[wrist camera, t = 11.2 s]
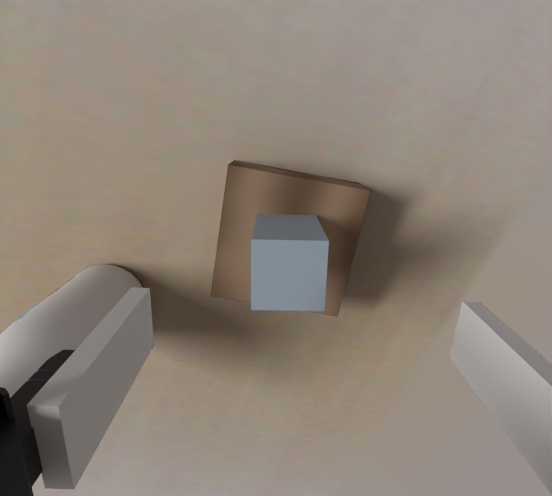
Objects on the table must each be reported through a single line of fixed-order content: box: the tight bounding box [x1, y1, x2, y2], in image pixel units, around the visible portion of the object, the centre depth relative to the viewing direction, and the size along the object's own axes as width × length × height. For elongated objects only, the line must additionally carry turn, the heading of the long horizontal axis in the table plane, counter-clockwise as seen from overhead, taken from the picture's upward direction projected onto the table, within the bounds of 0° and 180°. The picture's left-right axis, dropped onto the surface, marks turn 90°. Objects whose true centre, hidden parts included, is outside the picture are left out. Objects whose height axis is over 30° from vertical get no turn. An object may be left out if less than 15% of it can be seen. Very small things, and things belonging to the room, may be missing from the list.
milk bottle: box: [0, 264, 143, 398], centre depth 29 cm, size 8×8×20 cm
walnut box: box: [211, 160, 370, 316], centre depth 34 cm, size 12×12×5 cm
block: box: [251, 214, 329, 311], centre depth 28 cm, size 5×5×8 cm
